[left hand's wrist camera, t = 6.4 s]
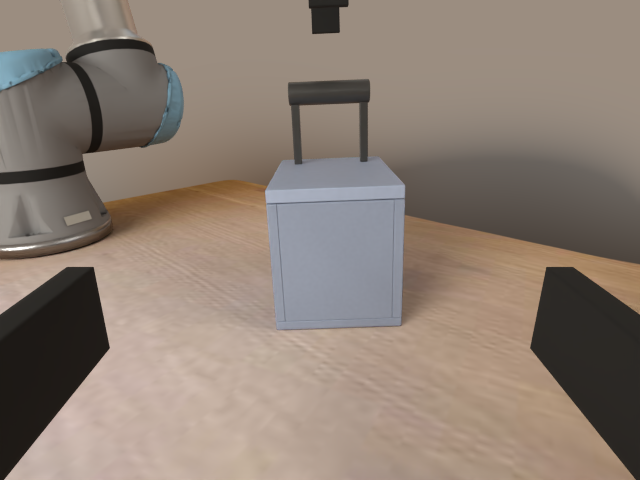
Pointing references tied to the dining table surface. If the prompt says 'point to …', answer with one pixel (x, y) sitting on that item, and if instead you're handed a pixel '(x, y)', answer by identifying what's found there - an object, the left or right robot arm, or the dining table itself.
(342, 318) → the chest
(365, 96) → the lid
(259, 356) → the dining table surface
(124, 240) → the dining table surface
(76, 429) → the dining table surface
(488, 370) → the dining table surface
